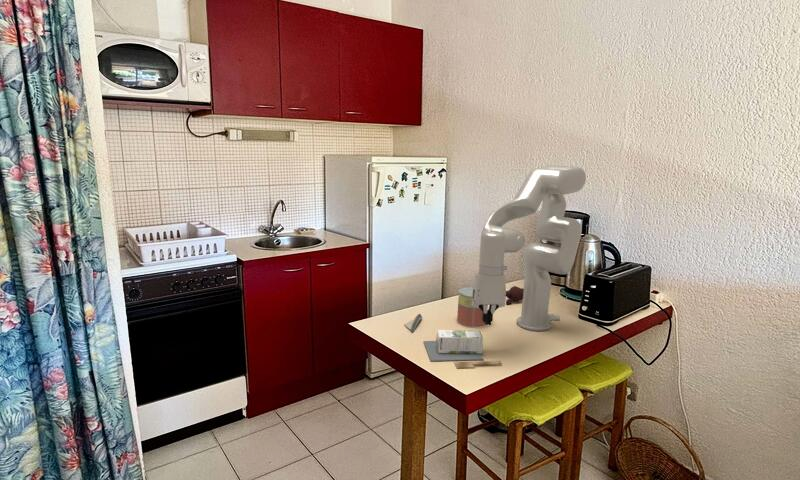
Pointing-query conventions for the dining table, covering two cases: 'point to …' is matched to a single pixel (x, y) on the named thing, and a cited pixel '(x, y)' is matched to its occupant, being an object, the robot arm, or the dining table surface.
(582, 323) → the dining table surface
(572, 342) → the dining table surface
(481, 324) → the canned food
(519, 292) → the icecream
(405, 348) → the dining table surface
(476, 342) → the syrup box
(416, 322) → the ceramic fragment
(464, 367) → the spatula
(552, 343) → the dining table surface
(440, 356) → the mat
